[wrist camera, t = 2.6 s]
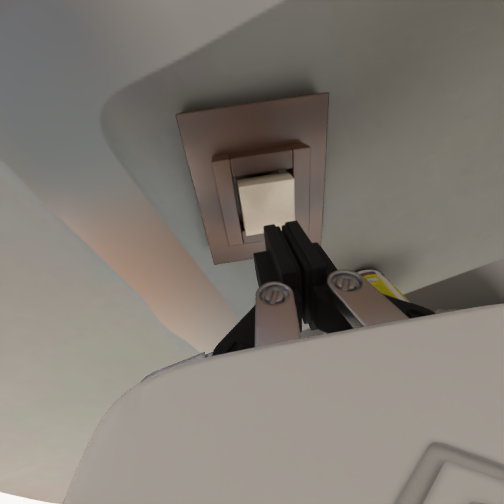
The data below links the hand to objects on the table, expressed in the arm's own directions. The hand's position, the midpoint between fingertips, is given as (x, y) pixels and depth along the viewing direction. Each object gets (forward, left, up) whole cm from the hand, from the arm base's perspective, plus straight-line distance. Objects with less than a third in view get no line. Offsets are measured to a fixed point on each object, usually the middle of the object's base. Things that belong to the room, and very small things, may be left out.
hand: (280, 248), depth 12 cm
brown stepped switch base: (0, 0, -10) cm, 10 cm away
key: (0, 0, -6) cm, 6 cm away
